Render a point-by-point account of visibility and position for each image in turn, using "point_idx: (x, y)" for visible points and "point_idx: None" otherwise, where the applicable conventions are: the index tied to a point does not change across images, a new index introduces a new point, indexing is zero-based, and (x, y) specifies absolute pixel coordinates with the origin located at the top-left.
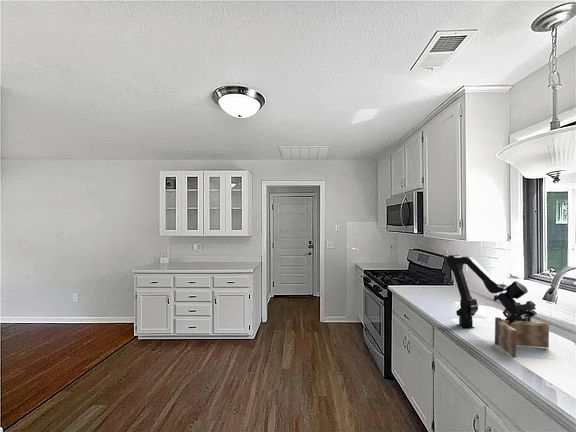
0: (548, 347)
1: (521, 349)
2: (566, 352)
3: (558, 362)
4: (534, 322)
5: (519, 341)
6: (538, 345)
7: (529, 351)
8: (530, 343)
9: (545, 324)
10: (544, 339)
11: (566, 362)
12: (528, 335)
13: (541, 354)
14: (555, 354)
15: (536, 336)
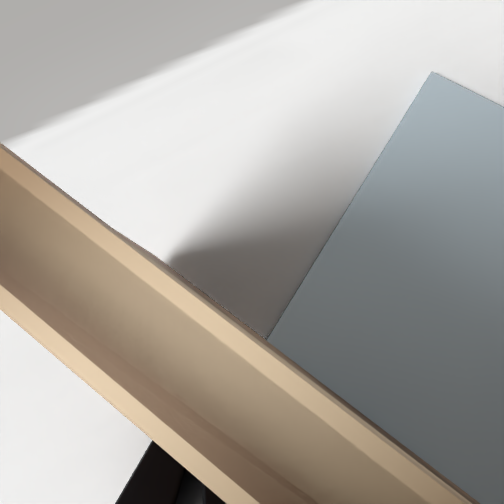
0: (155, 256)
1: (491, 363)
2: (77, 148)
3: (432, 31)
4: (283, 382)
5: (432, 468)
6: (235, 317)
7: (456, 287)
8: (310, 375)
9: (21, 162)
10: (163, 266)
11: (358, 10)
12: (353, 412)
13: (414, 184)
14: (243, 153)
15: (247, 331)
